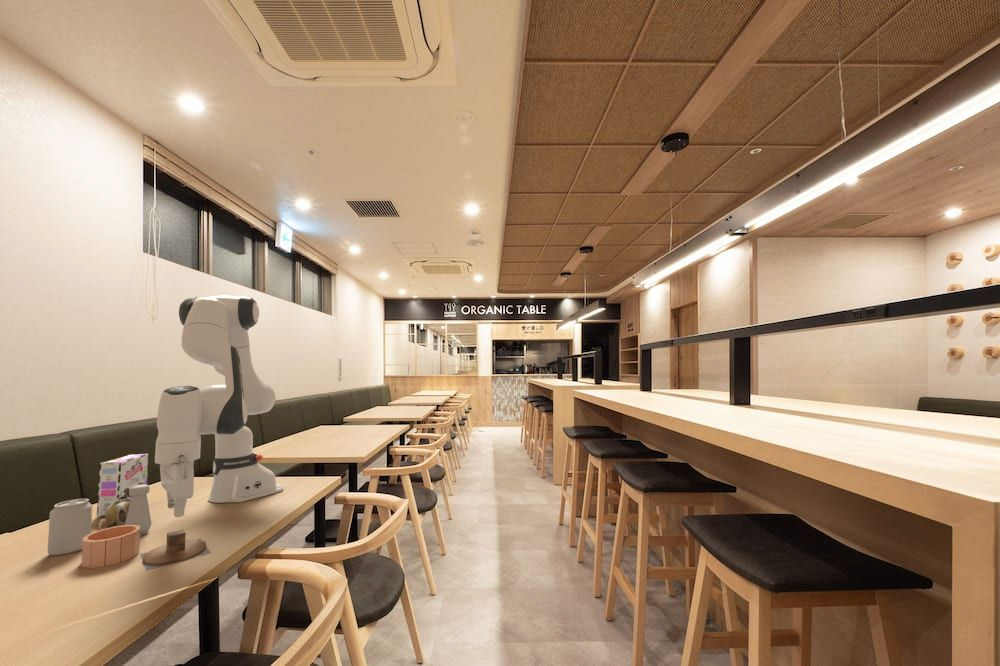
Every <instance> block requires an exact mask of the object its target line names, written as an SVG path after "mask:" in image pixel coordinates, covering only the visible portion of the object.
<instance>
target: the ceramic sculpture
mask: <svg viewBox="0 0 1000 666" xmlns="http://www.w3.org/2000/svg"><path fill="white" fill-rule="evenodd" d="M130 502H131V498H129V497H126V496H120V497H119V498H118V499H116V500H115V501H113V503H112V504H110V505H109V507H108V508H107V510H106V511H105V513H104V515H105V517H104V518H103V517H102V518H101V519H100V520H99V521H98V523H97V525H96V527H97V531H99V530H102V529H106V528H111V527H116V526H123V525H125V521H126V518H127V514H128V510H129V506H130Z"/></svg>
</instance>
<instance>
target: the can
mask: <svg viewBox="0 0 1000 666" xmlns="http://www.w3.org/2000/svg"><path fill="white" fill-rule="evenodd" d="M89 501H90V499H89V498H76V499H70V500H65V501H61V502H58V503H56V504H55V505H53V509H52V510H50V512H49V522H48V534H47V535H48V540H47V541H48V542H47V554H49V555H51V556H52V557H56V556H64V555H69V554H72V553H73V554H74V553H76V552H79V551H82V543H83V537H85V536H87V535H88V534H90V533H92V520H93V519H92V516H93V504H92V503H91V502H89Z"/></svg>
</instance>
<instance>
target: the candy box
mask: <svg viewBox="0 0 1000 666" xmlns="http://www.w3.org/2000/svg"><path fill="white" fill-rule="evenodd" d="M148 473H149V453H139V454H128V455H125V456H122V457H119V458H115V459H111V460H108V461H104V462H100V463H99V474H98V490H97V507H96V518H101V517H102V518H103V517H104V518H105V515H104V513H105V511H106V510H107V508H108V507H109V505H110V504H112V503H113V501H115V500H116V499H118V498H119V497H120V496H126V497H129V498H132V496H130V495H129V491H130V488H131V487H133V486H136V485H142V484H146V485H148Z"/></svg>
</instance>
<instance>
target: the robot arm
mask: <svg viewBox="0 0 1000 666" xmlns="http://www.w3.org/2000/svg"><path fill="white" fill-rule="evenodd" d="M178 317H179V321H180V323H181V325H182V326H183V329H182V333H181V347H182V350H183V351H184V352H185V354H186V355H187V356H188V357H190V359H193V360H194V361H196V362H199V363H202V364H205V365H210V366H212V367H214V370H215V371H216V372H217V373H218V374H220V375H221V376H223V377H224V380H225V381H224V382H225V384H214V385H207V386H203V387H201V388H199V387H197V386H192V385H179V386H178V385H177V386H172V387H171V386H170V387H168V388H165V389H164V390H162V392H161V395H160V399H159V403H158V409H157V418H156V428H157V431H158V433H157V437H156V441H155V449H154V450H155V451H154V463H155V464H157V465H159V471H160V472H159V473H160V474H159V475H160V483H161V487H162V488H163V489H164V490H165V491H166V496H167V508H168V509H171V510H172V509H173V515H174V517H175V518H181V517H184V516H185V511H186V510H185V508H186V505H187V502H188V501H187V499H191V498H193V495H194V491H195V488H194V487H195V484H194V483H195V480H194V479H195V478H194V476H195V472H194V464H195V463H194V462H195V461H196V460H199V459H201V449H202V448H201V447H202V437H201V435H203V436H204V435H214V442H215V443H214V445H215V456H214V457H213V462H212V463H213V464H212V473H213V480H212V486H211V489H210V494H209V496H208V500H207V501H208V502H210V503H216V504H217V503H220V504H221V503H223V504H225V503H243V502H245V501H250V500H254V499H258V498H261V497H265V496H269V495H273V494H276V493H280V492H282V491H283V490H284V489H283V485H282V484H281V483H279V482H277V479H276V475H275V473H274V472H273V471H272V470H271V469H269V468H267V467H265V466H264V465H262V464H261V463H259V462H260V461H262V460H263V459H264V455H261V454H258V453H255V452H253V444H254V440H253V439H254V435H253V432H252V430H251V428H249V427H248V426H246V423H247V421H248V416H255V415H260V414H264V413H268V412H270V411H271V410H272V409H273V407H274V405H275V403H276V397H277V396H276V392H275V391H274V389H273V388H272V387H271V386H270V385H268V384H267V383H265V382H264V381H263V380H262V379H261V378H260V377H259V375H257V373H256V371H255V370H254V366H253V363H252V357H251V355H252V354H251V348H250V347H251V346H250V339H249V338H250V337H249V333H248V330H250V328H253V327H254V326H256V324H258V320H259V317H260V309H259V306H258V304H257V301H256V300H255V299H254V298H253V297H249V296H243V295H242V296H235V295H234V296H233V295H232V296H231V295H218V296H216V295H215V296H204V297H203V296H202V297H198V296H195V297H194V296H193V297H189V298H185V299H184V300H183V301H182V302H181V303H180V305H179V309H178Z"/></svg>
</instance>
